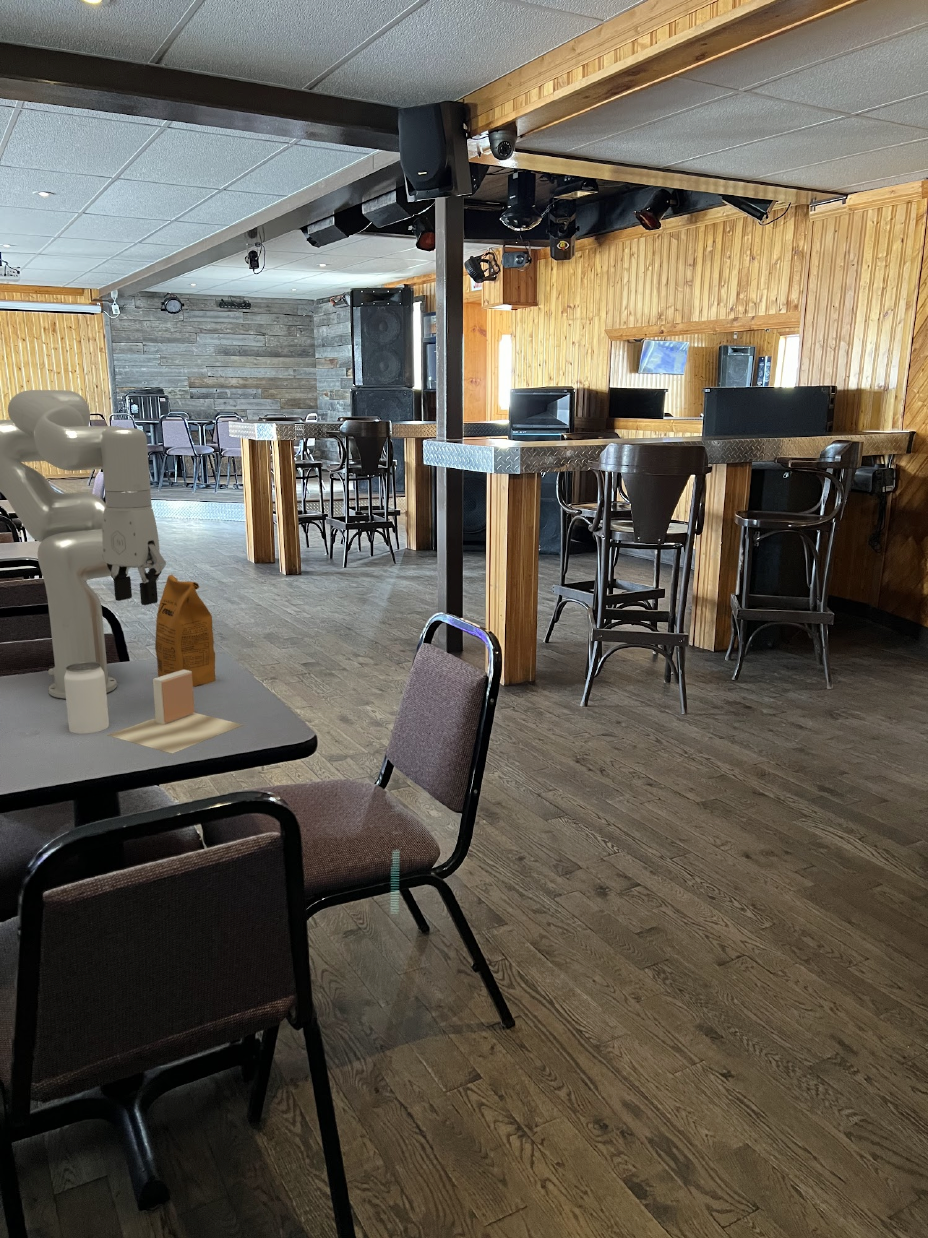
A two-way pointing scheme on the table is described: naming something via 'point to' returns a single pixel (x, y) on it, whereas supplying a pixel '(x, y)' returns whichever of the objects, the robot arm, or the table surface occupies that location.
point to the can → (86, 698)
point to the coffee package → (184, 633)
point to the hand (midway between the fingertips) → (136, 600)
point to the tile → (173, 696)
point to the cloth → (175, 732)
